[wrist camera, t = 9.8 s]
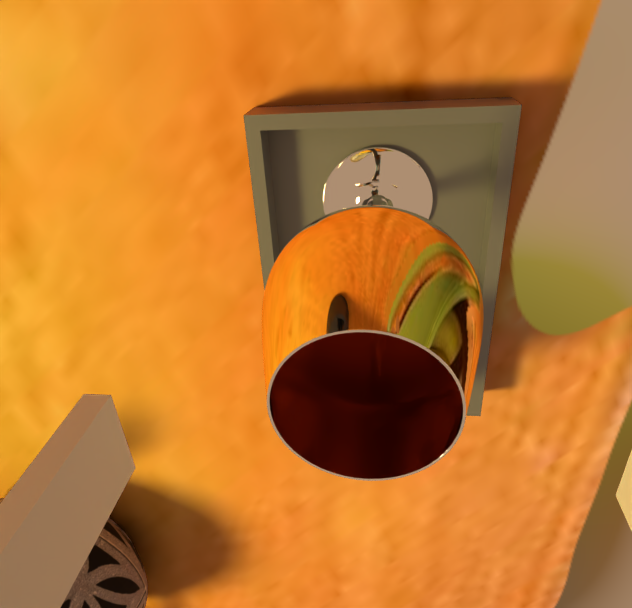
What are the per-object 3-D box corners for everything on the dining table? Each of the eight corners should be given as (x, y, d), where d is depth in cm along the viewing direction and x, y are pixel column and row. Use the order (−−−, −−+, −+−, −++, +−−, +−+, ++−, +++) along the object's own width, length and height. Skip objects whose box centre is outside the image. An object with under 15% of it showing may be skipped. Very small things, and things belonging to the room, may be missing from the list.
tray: (254, 107, 29) (243, 115, 27) (511, 97, 27) (521, 104, 25) (284, 385, 39) (278, 407, 37) (475, 392, 37) (480, 415, 35)
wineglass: (432, 109, 27) (484, 254, 12) (461, 246, 31) (531, 490, 16) (289, 154, 29) (178, 325, 14) (332, 277, 33) (282, 519, 18)
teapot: (128, 426, 44) (18, 602, 31) (181, 627, 59) (123, 801, 46) (-75, 410, 46) (-257, 568, 33) (27, 607, 61) (-70, 768, 48)
